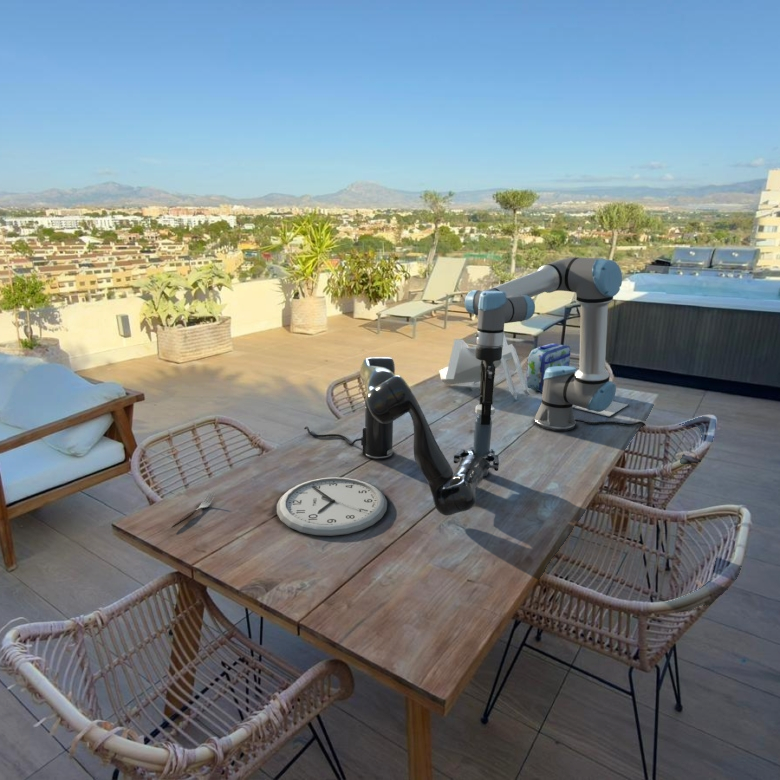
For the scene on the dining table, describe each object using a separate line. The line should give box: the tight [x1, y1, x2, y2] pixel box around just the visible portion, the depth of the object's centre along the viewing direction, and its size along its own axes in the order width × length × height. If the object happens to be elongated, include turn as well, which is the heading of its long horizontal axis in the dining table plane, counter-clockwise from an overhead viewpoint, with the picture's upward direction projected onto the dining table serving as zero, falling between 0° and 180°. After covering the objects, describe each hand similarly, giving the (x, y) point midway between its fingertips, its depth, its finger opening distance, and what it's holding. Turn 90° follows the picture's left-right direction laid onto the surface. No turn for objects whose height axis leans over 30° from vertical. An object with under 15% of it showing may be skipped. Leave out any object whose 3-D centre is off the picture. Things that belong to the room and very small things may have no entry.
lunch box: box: [525, 343, 571, 393], centre depth 249 cm, size 26×11×21 cm, turn 134°
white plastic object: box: [438, 333, 531, 400], centre depth 245 cm, size 37×45×31 cm
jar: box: [472, 414, 493, 477], centre depth 160 cm, size 5×5×19 cm
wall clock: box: [276, 476, 388, 537], centre depth 142 cm, size 30×2×30 cm
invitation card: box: [573, 400, 629, 418], centre depth 226 cm, size 21×1×15 cm
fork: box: [171, 493, 217, 529], centre depth 137 cm, size 3×16×2 cm, turn 160°
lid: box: [474, 404, 496, 416], centre depth 157 cm, size 6×6×2 cm
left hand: (482, 450), depth 164 cm, fingers closed on jar, 5 cm apart
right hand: (484, 420), depth 158 cm, fingers closed on lid, 6 cm apart
